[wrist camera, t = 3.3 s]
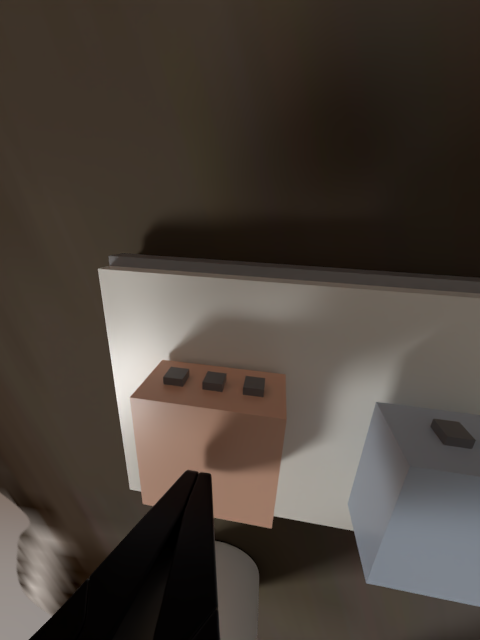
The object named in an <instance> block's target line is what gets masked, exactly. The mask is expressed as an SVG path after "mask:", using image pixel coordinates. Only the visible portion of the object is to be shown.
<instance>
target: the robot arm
mask: <svg viewBox="0 0 480 640" xmlns="http://www.w3.org/2000/svg"><path fill="white" fill-rule="evenodd" d="M29 640H220V628H219V611H218V592H217V572H216V553H215V533H214V514H213V494H212V476H211V474H210V473H205V472H200V473H199V472H198V471H193V470H186V471H185V472H184V473H183V474H182V475H181V476H180V477H179V479H178V480H177V481H176V482H175V483H174V484H173V485H172V486H171V487H170V488H169V490H168V491H167V492H166V493H165V494H164V495H163V496H162V497H161V498H160V499H159V501H158V502H157V503H156V504H155V505H154V506H153V507H152V508H151V509H150V510H149V512H148V513H147V514H146V515H145V516H144V517H143V518H142V519H141V520H140V521H139V523H138V524H137V525H136V526H135V527H134V528H133V529H132V530H131V531H130V532H129V534H128V535H127V536H126V537H125V538H124V539H123V540H122V541H121V542H120V543H119V545H118V546H117V547H116V548H115V549H114V550H113V551H112V552H111V553H110V554H109V556H108V557H107V558H106V559H105V560H104V561H103V562H102V563H101V564H100V565H99V567H98V568H97V569H96V570H95V571H94V572H93V573H92V574H91V575H90V578H89V579H87V580H86V581H85V582H84V583H83V584H82V585H81V586H80V587H79V588H78V589H77V591H76V592H75V593H74V594H73V595H72V596H71V597H70V598H69V599H68V600H67V601H66V602H65V604H64V605H63V606H62V607H61V608H60V609H59V610H58V611H57V612H56V613H55V614H54V615H53V616H52V617H51V618H50V619H49V620H48V621H47V622H46V623H45V624H44V625H43V626H42V627H41V628H40V629H39V630H38V631H37V632H36V633H35V634H34V635H33V636H32V637H31V638H30V639H29Z"/></svg>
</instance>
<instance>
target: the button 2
mask: <svg viewBox="0 0 480 640" xmlns="http://www.w3.org/2000/svg"><path fill="white" fill-rule="evenodd" d="M348 508H349V512H350V516H351V521H352V525H353V529H354V533H355V538H356V542H357V546H358V551H359V555H360V559H361V563H362V568H363V572H364V576H365V580H366V583H368V584H373V585H378V586H383V587H387V588H392V589H397V590H402V591H407V592H412V593H416V594H421V595H426V596H431V597H436V598H440V599H445V600H450V601H455V602H460V603H464V604H469V605H474V606H479V607H480V415H476V414H468V413H460V412H452V411H444V410H437V409H429V408H421V407H413V406H405V405H397V404H389V403H381V402H376V404H375V407H374V411H373V415H372V418H371V422H370V425H369V429H368V432H367V436H366V440H365V443H364V447H363V450H362V454H361V458H360V461H359V465H358V468H357V472H356V475H355V479H354V483H353V486H352V490H351V493H350V497H349V500H348Z"/></svg>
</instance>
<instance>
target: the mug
mask: <svg viewBox="0 0 480 640" xmlns="http://www.w3.org/2000/svg"><path fill="white" fill-rule="evenodd" d="M215 553H216V572H217V592H218V611H219V628H220V640H257V630H258V600H259V571H258V568H257V566H256V564H255V562H254V561H253V560H252V559H251V558H250V557H249V556H248V555H247V554H246V553H245V552H243V551H242V550H240V549H238V548H236V547H234V546H232V545H229V544H227V543H223V542H219V541H215Z"/></svg>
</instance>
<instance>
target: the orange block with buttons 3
mask: <svg viewBox="0 0 480 640" xmlns="http://www.w3.org/2000/svg"><path fill="white" fill-rule="evenodd" d="M130 404H131V412H132V420H133V428H134V436H135V444H136V452H137V460H138V469H139V477H140V485H141V493H142V501H143V504H146V505H151V506H154V505H155V504H156V503H157V502H158V501H159V499H160V498H161V497H162V496H163V495H164V494H165V493H166V492H167V491H168V490H169V488H170V487H171V486H172V485H173V484H174V483H175V482H176V481H177V480H178V479H179V477H180V476H181V475H182V474H183V473H184V472H185V471H186V470H193V471H198V472H199V473H200V472H205V473H210V474H211V476H212V494H213V514H214V518H219V519H224V520H229V521H234V522H240V523H245V524H250V525H255V526H260V527H266V528H271V529H272V523H273V516H274V508H275V501H276V494H277V486H278V479H279V472H280V464H281V457H282V450H283V442H284V435H285V428H286V420H287V414H286V375H285V374H278V373H270V372H261V371H253V370H245V369H236V368H228V367H219V366H211V365H203V364H194V363H186V362H177V361H169V360H162V361H161V362H160V363H159V364H158V365H157V367H156V368H155V369H154V370H153V371H152V372H151V373H150V375H149V376H148V377H147V378H146V379H145V380H144V382H143V383H142V384H141V385H140V386H139V387H138V388H137V390H136V391H135V392H134V393H133V394H132V395H131V396H130Z"/></svg>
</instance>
